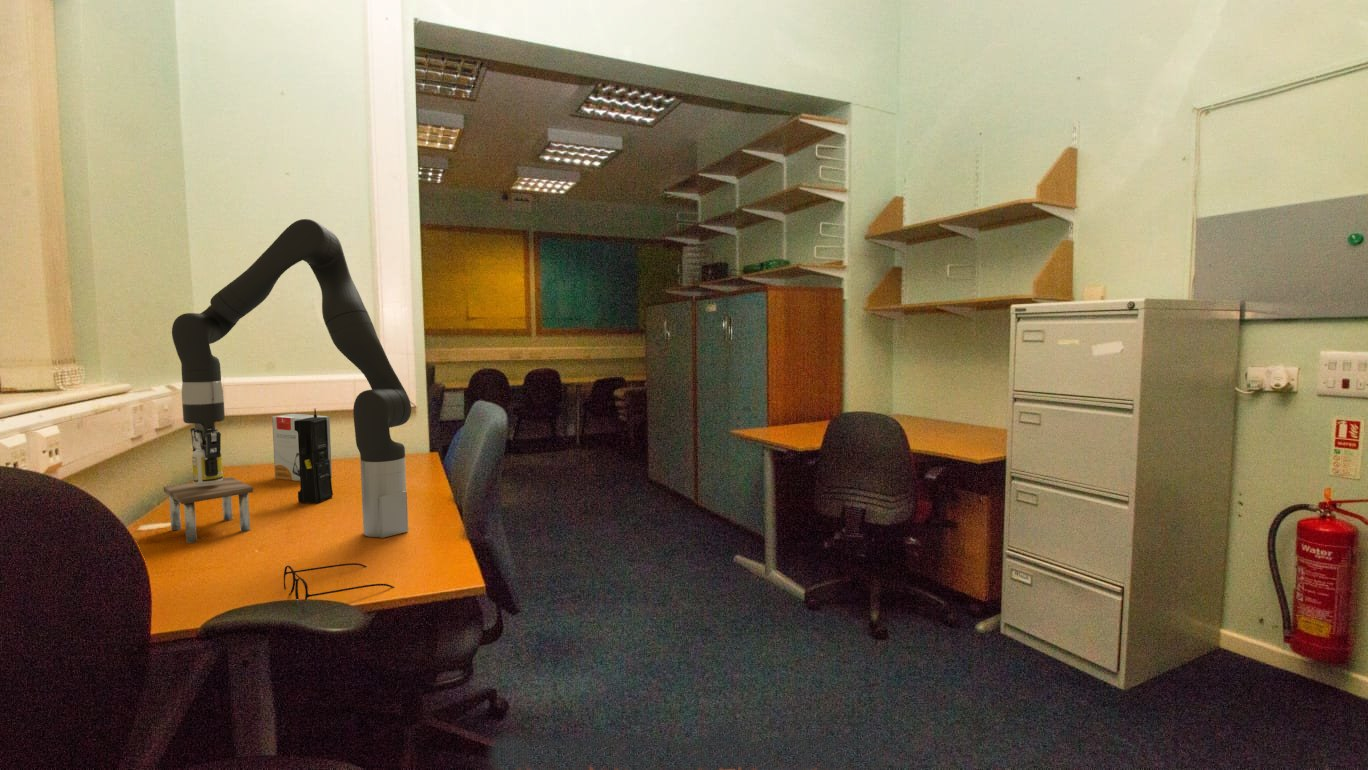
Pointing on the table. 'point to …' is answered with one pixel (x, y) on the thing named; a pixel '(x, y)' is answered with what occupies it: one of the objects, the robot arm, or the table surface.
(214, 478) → the supplement bottle
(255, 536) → the table surface
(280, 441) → the hard drive box
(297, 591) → the glasses
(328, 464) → the portable radio
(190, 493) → the small wooden stool
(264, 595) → the table surface
